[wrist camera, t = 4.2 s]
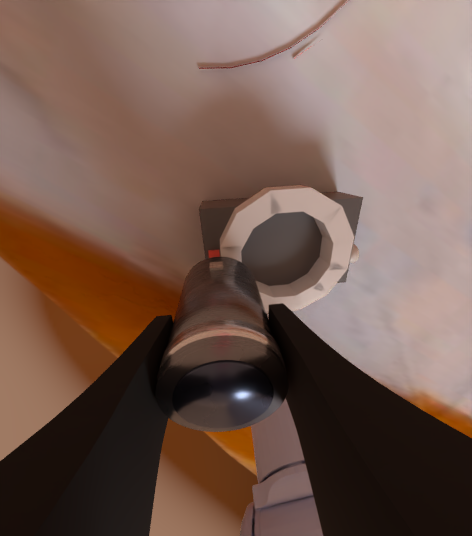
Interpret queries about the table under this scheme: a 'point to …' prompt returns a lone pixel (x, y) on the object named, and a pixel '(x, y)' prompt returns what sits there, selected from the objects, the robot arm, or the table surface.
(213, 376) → the lens
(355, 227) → the camera body
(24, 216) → the table surface
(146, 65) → the table surface
